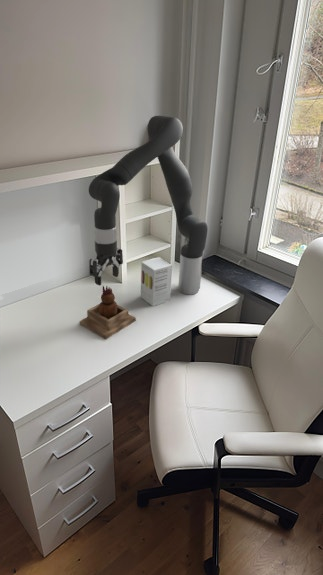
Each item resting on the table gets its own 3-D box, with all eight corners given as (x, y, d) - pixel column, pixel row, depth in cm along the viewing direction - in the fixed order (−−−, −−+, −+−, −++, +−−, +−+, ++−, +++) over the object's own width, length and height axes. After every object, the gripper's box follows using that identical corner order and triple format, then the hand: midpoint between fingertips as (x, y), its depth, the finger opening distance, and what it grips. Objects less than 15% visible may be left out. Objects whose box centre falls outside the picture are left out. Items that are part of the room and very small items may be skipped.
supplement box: (139, 296, 175) (140, 261, 167) (157, 290, 180) (158, 256, 172) (152, 306, 169) (154, 270, 160) (170, 300, 173) (172, 264, 165)
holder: (109, 307, 166) (109, 296, 164) (135, 320, 159) (135, 308, 156) (79, 324, 155) (79, 312, 153) (106, 339, 148) (105, 326, 145)
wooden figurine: (100, 323, 153) (99, 288, 146) (98, 315, 158) (97, 281, 151) (118, 321, 155) (118, 287, 148) (115, 313, 160) (115, 279, 152)
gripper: (112, 230, 147) (113, 270, 155) (82, 241, 137) (85, 284, 145) (128, 235, 143) (128, 276, 151) (98, 248, 133) (100, 291, 141)
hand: (107, 280), depth 148 cm, fingers open, 8 cm apart
